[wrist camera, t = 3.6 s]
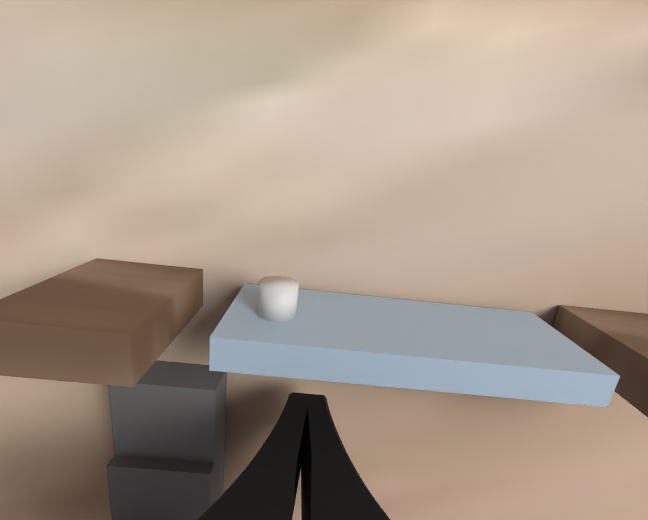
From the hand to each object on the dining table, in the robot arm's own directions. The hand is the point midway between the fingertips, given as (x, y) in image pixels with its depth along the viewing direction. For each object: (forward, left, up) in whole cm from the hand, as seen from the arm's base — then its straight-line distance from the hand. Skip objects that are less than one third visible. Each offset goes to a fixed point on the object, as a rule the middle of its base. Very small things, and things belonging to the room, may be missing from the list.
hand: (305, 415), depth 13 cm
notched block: (-5, +5, -2) cm, 8 cm away
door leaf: (+5, -3, -1) cm, 5 cm away
